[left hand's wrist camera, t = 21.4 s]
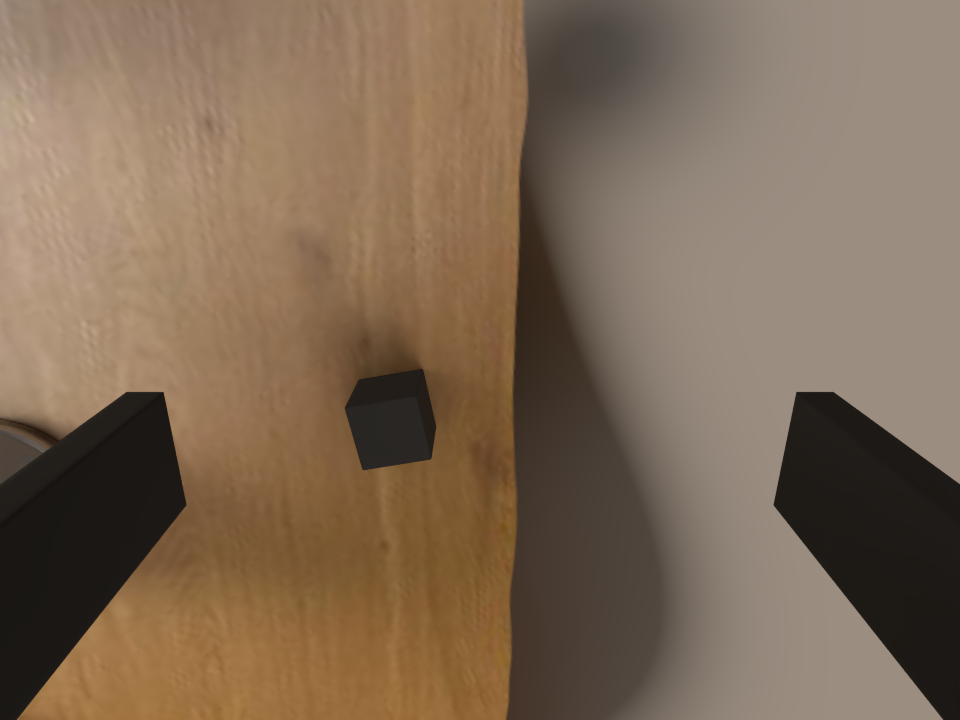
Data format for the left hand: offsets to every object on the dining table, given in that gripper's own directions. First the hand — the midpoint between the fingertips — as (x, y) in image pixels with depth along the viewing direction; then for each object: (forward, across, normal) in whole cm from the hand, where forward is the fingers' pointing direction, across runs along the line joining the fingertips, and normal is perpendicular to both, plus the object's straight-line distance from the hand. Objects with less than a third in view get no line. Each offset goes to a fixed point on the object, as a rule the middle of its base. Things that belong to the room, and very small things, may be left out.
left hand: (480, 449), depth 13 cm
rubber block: (+31, +6, +13) cm, 34 cm away
